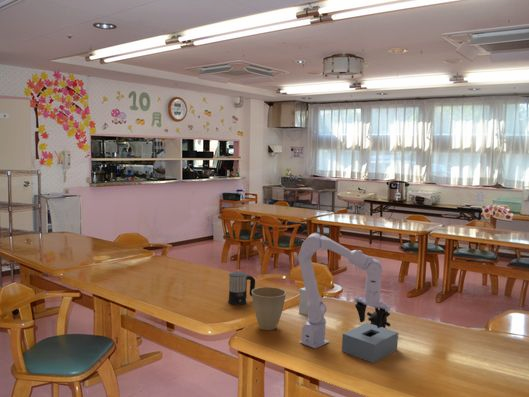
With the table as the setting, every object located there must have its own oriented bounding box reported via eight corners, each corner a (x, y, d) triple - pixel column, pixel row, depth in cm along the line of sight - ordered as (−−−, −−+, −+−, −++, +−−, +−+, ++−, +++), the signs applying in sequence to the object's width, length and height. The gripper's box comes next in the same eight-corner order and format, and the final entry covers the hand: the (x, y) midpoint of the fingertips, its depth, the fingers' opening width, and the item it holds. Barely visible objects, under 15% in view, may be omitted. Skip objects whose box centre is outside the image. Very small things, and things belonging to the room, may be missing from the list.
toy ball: (384, 330, 195) (360, 317, 202) (385, 339, 203) (362, 326, 209) (395, 311, 199) (372, 299, 206) (396, 321, 207) (373, 309, 213)
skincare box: (305, 310, 225) (306, 286, 224) (312, 312, 223) (314, 288, 222) (298, 313, 221) (299, 288, 220) (305, 315, 218) (306, 290, 217)
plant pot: (267, 318, 211) (268, 284, 210) (291, 328, 201) (293, 292, 199) (243, 326, 201) (244, 290, 199) (267, 336, 190) (268, 299, 189)
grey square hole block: (373, 363, 170) (374, 344, 169) (341, 351, 179) (342, 333, 178) (397, 349, 183) (398, 332, 182) (366, 338, 192) (367, 322, 191)
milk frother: (235, 306, 227) (236, 276, 226) (216, 298, 239) (217, 270, 238) (257, 301, 236) (258, 273, 235) (238, 293, 248) (239, 266, 247)
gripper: (394, 292, 177) (392, 327, 178) (362, 284, 187) (360, 317, 188) (385, 296, 172) (383, 331, 173) (352, 287, 182) (350, 321, 183)
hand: (370, 324), depth 180 cm, fingers open, 7 cm apart
